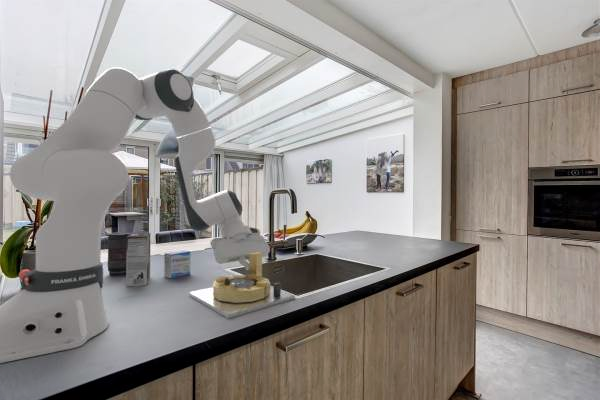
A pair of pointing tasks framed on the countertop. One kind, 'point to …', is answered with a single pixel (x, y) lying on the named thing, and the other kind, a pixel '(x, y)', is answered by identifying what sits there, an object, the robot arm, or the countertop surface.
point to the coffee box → (138, 259)
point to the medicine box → (176, 264)
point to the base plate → (241, 307)
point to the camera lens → (117, 254)
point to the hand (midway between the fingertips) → (251, 269)
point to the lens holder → (247, 294)
